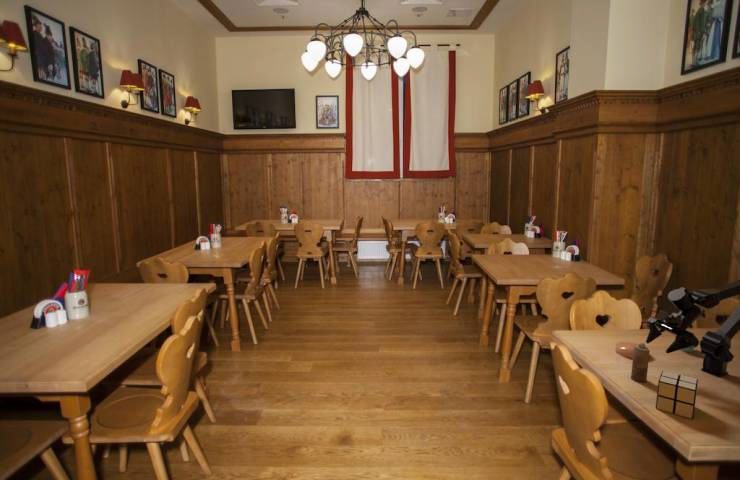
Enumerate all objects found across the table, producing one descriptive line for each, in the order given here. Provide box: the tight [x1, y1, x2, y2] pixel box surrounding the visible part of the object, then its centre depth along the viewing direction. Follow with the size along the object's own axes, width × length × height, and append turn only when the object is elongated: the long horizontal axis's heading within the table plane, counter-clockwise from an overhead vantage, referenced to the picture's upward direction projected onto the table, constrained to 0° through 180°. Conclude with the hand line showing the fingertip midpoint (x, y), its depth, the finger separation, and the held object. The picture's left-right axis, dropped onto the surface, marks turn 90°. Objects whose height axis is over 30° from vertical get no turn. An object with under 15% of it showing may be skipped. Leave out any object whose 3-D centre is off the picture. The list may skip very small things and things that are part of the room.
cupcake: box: [674, 327, 695, 353], centre depth 189 cm, size 9×8×12 cm
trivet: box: [614, 341, 640, 360], centre depth 187 cm, size 12×12×3 cm
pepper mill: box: [630, 342, 651, 384], centre depth 163 cm, size 5×5×14 cm
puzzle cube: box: [655, 370, 699, 420], centre depth 144 cm, size 10×10×10 cm
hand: (656, 347), depth 163 cm, fingers open, 9 cm apart
